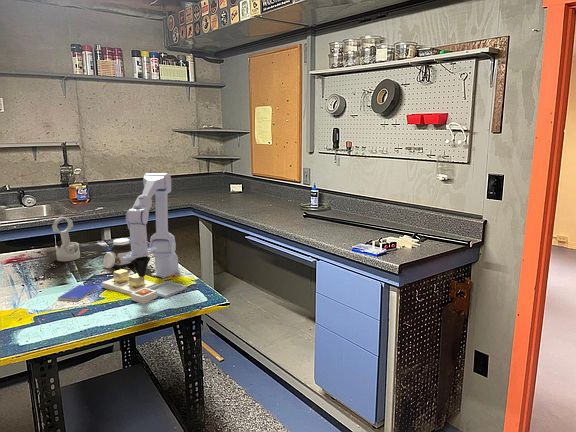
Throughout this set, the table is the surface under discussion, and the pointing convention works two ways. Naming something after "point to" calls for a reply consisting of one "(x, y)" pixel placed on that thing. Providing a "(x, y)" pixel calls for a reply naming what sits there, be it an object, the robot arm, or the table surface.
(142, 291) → the button
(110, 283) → the frame
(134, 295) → the button housing
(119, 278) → the block
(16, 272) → the table surface
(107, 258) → the spread jar
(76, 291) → the hard drive
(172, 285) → the tray
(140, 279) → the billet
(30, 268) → the table surface
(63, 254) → the engine component
